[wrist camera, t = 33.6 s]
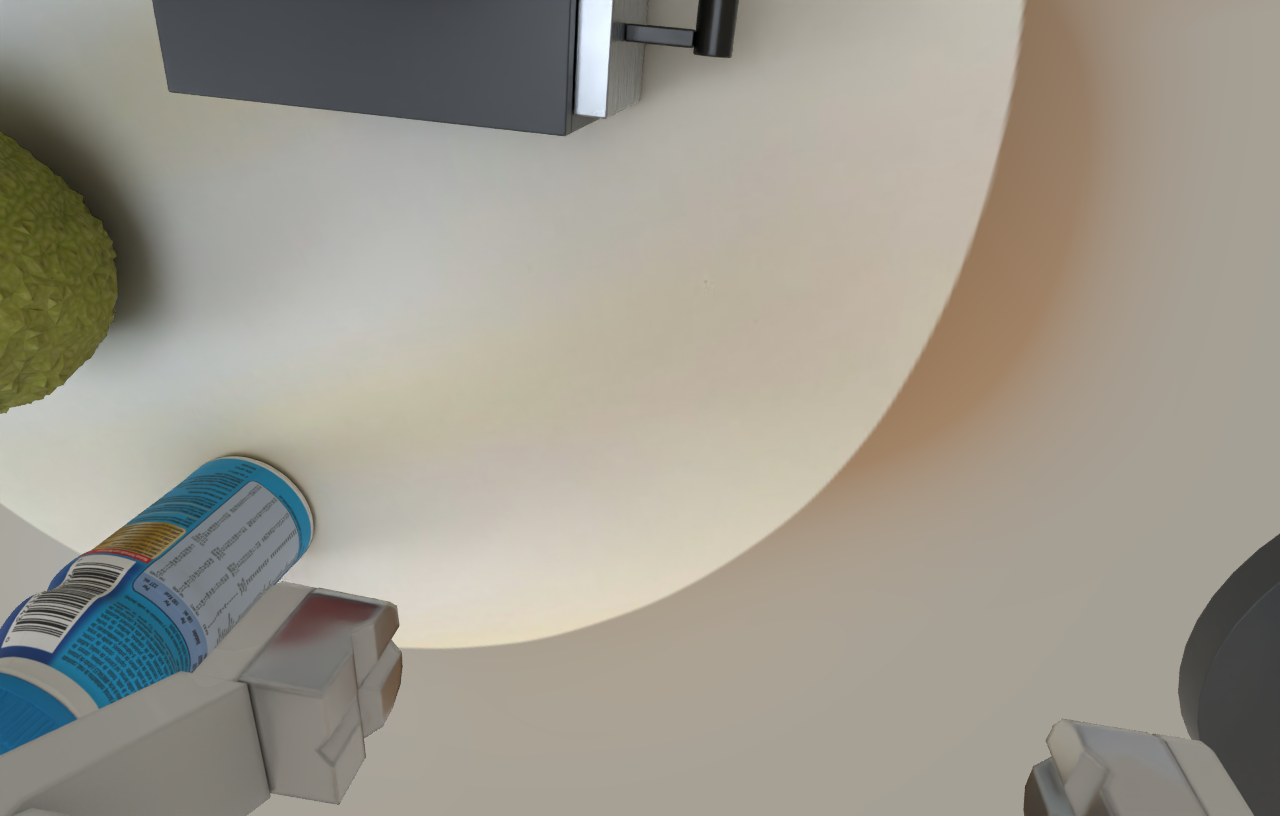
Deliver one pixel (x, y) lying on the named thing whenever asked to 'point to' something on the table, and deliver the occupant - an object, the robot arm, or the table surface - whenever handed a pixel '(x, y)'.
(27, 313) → the fruit
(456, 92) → the cabinet
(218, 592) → the beverage bottle
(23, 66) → the table surface
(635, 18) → the drawer
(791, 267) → the table surface
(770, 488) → the table surface
